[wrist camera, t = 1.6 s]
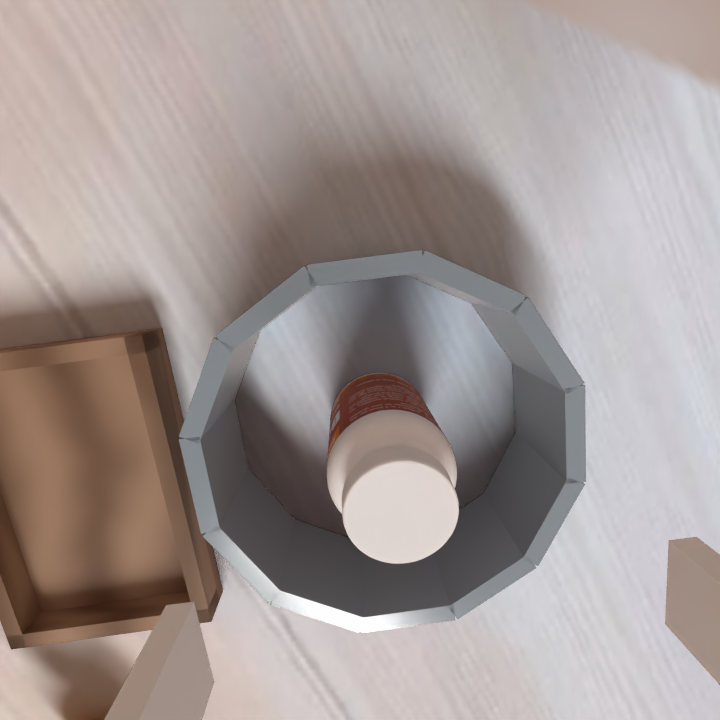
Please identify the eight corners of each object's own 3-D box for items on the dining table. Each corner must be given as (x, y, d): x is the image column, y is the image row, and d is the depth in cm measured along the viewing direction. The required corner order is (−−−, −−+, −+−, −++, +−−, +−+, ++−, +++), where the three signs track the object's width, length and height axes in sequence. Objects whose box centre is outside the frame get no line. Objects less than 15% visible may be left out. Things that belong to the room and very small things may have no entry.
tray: (39, 616, 29) (11, 649, 27) (-51, 355, 25) (-96, 365, 23) (222, 591, 29) (211, 621, 27) (162, 328, 25) (141, 334, 23)
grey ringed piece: (253, 568, 29) (228, 651, 23) (193, 281, 25) (142, 285, 18) (534, 530, 29) (586, 601, 23) (522, 239, 25) (583, 228, 19)
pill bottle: (319, 384, 26) (302, 462, 16) (412, 359, 26) (460, 421, 15) (344, 469, 28) (345, 597, 17) (433, 446, 28) (491, 560, 17)
